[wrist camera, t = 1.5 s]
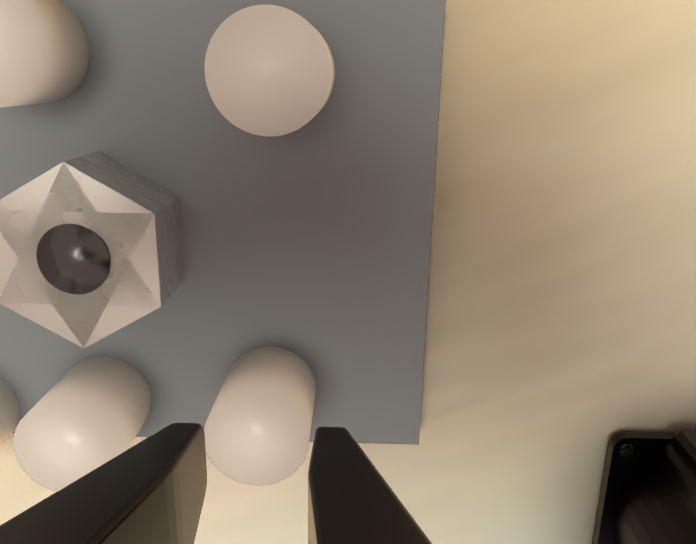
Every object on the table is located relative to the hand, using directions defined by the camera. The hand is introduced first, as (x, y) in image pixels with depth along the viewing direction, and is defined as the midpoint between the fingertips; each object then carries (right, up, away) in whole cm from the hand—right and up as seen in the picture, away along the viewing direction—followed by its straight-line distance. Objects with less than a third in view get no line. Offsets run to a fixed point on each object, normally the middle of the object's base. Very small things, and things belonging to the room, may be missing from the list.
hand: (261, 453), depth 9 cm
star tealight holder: (-6, +4, +11) cm, 13 cm away
